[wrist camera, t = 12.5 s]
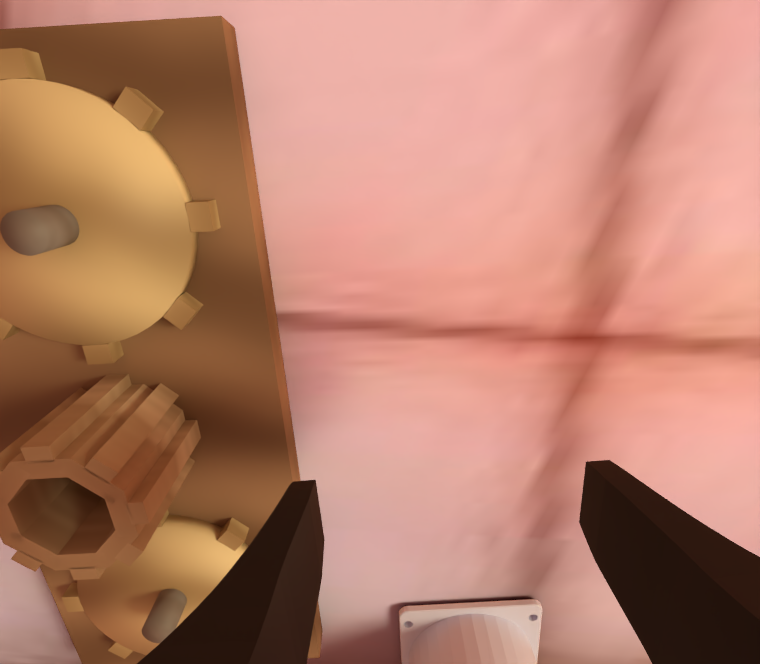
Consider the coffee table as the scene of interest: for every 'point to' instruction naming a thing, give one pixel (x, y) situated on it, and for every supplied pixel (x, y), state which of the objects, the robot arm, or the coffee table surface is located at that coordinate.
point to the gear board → (143, 291)
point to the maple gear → (95, 477)
